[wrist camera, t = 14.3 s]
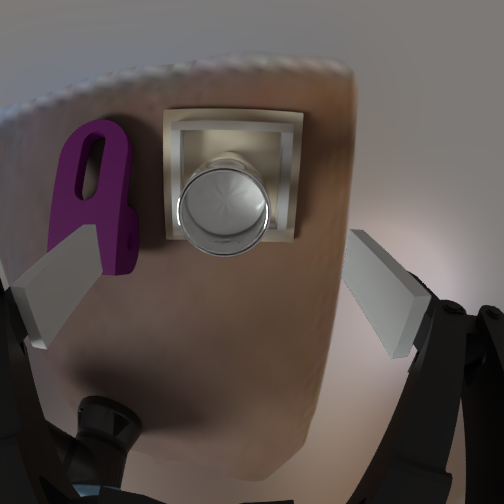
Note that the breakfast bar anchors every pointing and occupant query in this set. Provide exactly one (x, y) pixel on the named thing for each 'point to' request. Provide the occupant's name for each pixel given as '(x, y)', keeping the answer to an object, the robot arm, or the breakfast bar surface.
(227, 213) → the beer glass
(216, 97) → the breakfast bar surface
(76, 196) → the mounting bracket
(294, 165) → the cup holder
